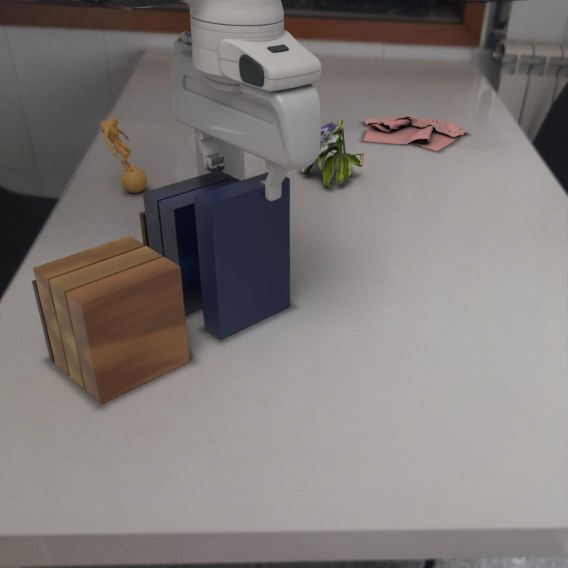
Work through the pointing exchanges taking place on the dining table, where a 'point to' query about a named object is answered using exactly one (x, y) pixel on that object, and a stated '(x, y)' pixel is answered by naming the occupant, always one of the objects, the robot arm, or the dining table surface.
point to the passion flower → (328, 144)
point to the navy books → (179, 228)
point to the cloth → (413, 132)
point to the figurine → (131, 176)
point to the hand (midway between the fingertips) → (241, 183)
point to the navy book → (243, 254)
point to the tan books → (113, 316)
